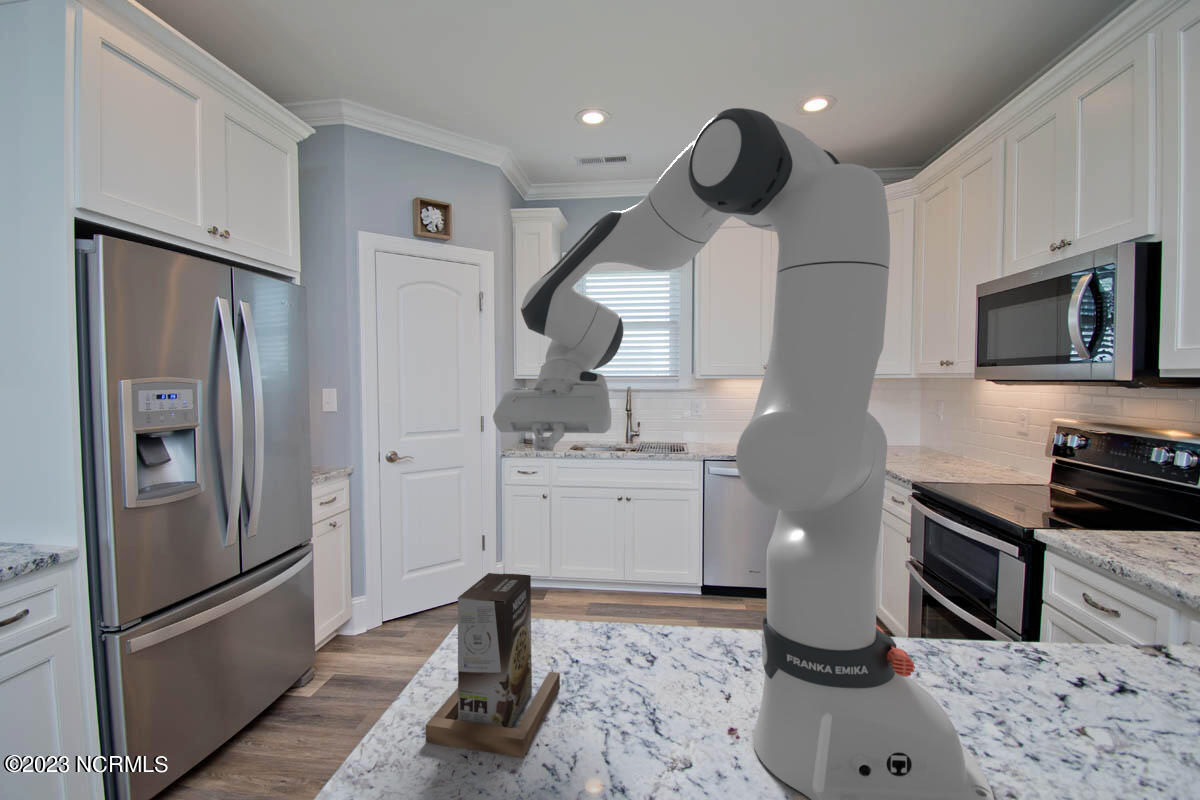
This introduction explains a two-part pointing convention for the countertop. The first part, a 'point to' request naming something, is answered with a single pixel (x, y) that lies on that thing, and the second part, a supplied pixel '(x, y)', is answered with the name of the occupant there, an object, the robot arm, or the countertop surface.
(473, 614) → the coffee box
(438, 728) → the walnut bay
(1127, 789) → the countertop surface
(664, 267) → the robot arm
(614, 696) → the countertop surface
